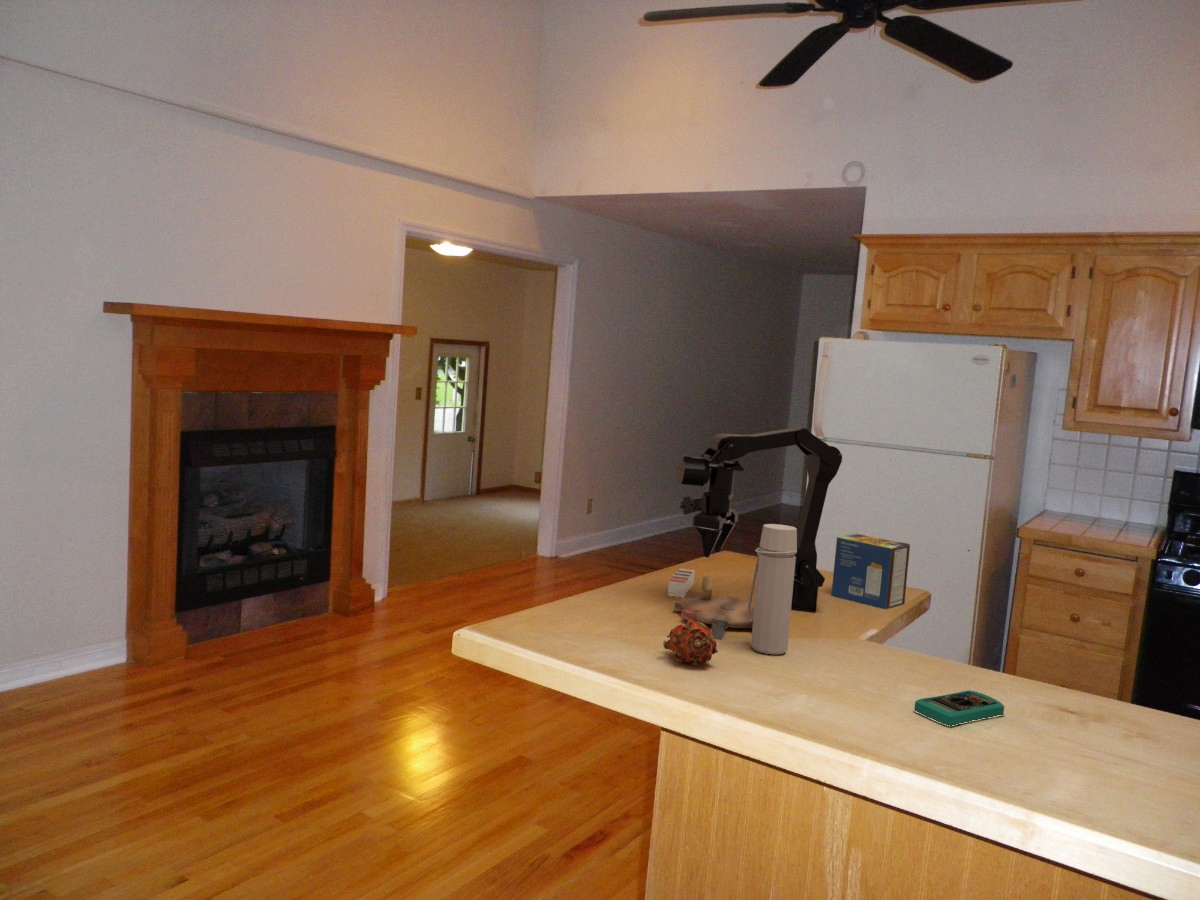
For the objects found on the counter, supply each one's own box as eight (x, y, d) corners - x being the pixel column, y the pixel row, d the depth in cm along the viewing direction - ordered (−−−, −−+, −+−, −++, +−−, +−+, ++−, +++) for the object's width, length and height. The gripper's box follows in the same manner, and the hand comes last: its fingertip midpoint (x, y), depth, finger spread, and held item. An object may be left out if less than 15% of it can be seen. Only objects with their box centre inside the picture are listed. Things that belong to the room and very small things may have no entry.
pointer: (725, 633, 190) (726, 615, 189) (722, 639, 185) (724, 620, 185) (713, 631, 190) (715, 613, 190) (710, 637, 186) (712, 618, 185)
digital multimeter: (1006, 718, 152) (1008, 701, 152) (948, 730, 145) (950, 713, 145) (968, 703, 159) (970, 687, 158) (911, 714, 151) (913, 697, 151)
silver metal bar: (693, 585, 233) (695, 569, 233) (683, 599, 218) (685, 582, 217) (678, 583, 234) (679, 567, 234) (667, 597, 219) (668, 580, 218)
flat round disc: (782, 609, 209) (785, 582, 209) (775, 635, 187) (778, 605, 187) (684, 596, 215) (686, 569, 215) (666, 620, 193) (668, 590, 192)
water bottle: (795, 651, 180) (806, 528, 178) (773, 659, 174) (785, 531, 172) (756, 640, 186) (766, 521, 184) (734, 646, 181) (745, 523, 178)
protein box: (850, 590, 239) (855, 533, 238) (905, 604, 228) (911, 543, 227) (829, 595, 232) (835, 536, 230) (885, 609, 221) (892, 547, 220)
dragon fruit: (706, 682, 163) (669, 670, 173) (736, 650, 167) (698, 641, 177) (683, 646, 161) (647, 636, 171) (714, 615, 164) (677, 607, 175)
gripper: (697, 480, 220) (690, 543, 222) (674, 485, 203) (666, 553, 204) (742, 487, 216) (734, 551, 217) (722, 493, 199) (714, 562, 200)
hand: (711, 554), depth 210 cm, fingers open, 9 cm apart
